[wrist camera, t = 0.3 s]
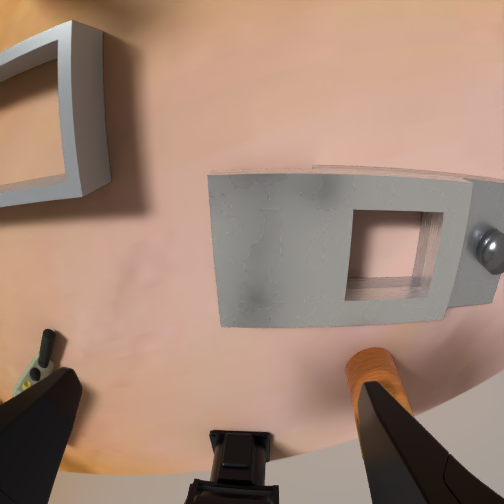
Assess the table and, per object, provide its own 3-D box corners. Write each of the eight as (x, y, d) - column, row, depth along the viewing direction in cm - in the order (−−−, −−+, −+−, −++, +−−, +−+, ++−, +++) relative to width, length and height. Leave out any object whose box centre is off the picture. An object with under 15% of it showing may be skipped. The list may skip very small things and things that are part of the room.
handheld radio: (28, 413, 36) (41, 316, 27) (46, 424, 37) (67, 333, 27) (12, 444, 30) (7, 359, 21) (31, 456, 31) (37, 379, 21)
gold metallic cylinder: (386, 380, 27) (410, 458, 19) (341, 384, 27) (356, 466, 19) (397, 345, 25) (429, 427, 17) (349, 349, 25) (370, 436, 17)
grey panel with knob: (483, 293, 22) (500, 312, 20) (226, 302, 24) (220, 327, 21) (508, 180, 18) (531, 191, 16) (216, 166, 20) (207, 175, 17)
